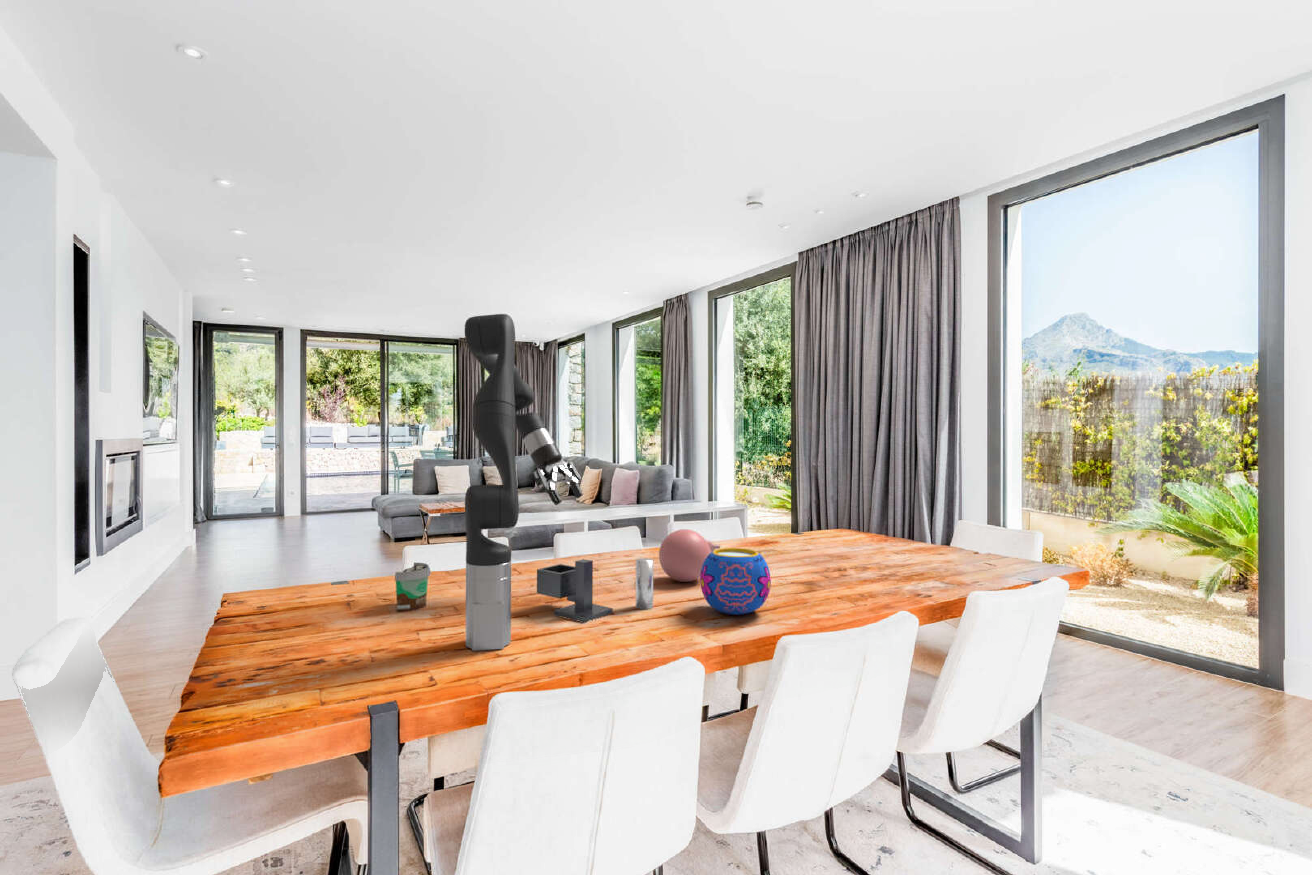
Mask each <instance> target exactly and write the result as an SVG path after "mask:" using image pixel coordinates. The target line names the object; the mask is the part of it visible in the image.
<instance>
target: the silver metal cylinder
mask: <svg viewBox="0 0 1312 875" xmlns="http://www.w3.org/2000/svg"><path fill="white" fill-rule="evenodd" d="M636 607H637V608H639V610H651V609H653V608H654V559H653V558H648V557H643V558H642V557H639V558H636V560H635V608H636ZM652 607H653V608H652ZM637 608H636V609H637ZM650 608H651V609H650Z"/></svg>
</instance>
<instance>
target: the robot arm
mask: <svg viewBox="0 0 1312 875" xmlns="http://www.w3.org/2000/svg"><path fill="white" fill-rule="evenodd" d="M464 338H465V344H466V346H467V348H468V350H469V352H470V353H471V355H472V356H473V357H474V358H475V360H476V361H477V362H478V363H479V364H480V365H481V366H482V367H483V369H484V370H485V371H486V372H487V373H488V374H489V375H488V376H487V378H486V379H485V381H484V382H483V384H481V386H480V388H479V389H478V391H477V393H476V394H475V397H474V399H473V401H472V430H473V433H474V436H475V438H476V439H477V441H478V442H479V443H480V445H481V446H482V447H483V450H485V451H486V453H487V454H488V456H489V457H490V459H491V460H492V461H493V463H494V465H495V468H496V469H497V471H498V474H499V476H500V479H501V483H502V484H476V485H475V484H473V485H470V486H468V488H467V489H466V492H465V496H464V515H465V533H466V534H465V536H466V538H465V540H466V541H465V542H466V546H465V548H466V549H465V646H466V647H467V648H469V649H471V651H473V652H474V651H477V652H478V651H489V650H490V651H491V650H503V649H504V647H506V646H508V645H509V644H511V642H512V549H511V547H510V546H508V545H506V544H505V543H500V542H497V541H495V540H492V539H490V538H488V537H486V536H485V535H484V534H483V533H482V530H498V529H500V530H501V529H503V530H504V529H512V528H515V527H516V526H517V523H518V520H519V515H520V507H519V506H520V504H519V503H520V502H519V492H518V491H519V489H518V480H517V477H518V476H517V467H516V466H517V465H516V430H517V432H518V433H519V435H520V437H521V439H522V440H523V443H524V446H525V449H526V450H527V453H528V455H529V457H530V458H531V460H532V462H533V463H534V464H533V465H534V466H535V467H536V470H535V471H533V473H531V475H532V477H533V479H534V481H535V484H536V486H537V488H538V490H539V492H540V493H541V494H543V493H546V494H548V496H549V498H550V499H551V501H552V503H553V505H555V506H558V505H559V504H561V503H562V499H561V497H560V495H559V493H558V491H557V489H555V487H556V483H560V482H562V483H564V484H567V485H568V486H569V487H570V488H571V491H572V493H573V495H574V497H575V498H576V499H580V498H581V497H582V496H583V494H584V493H583V491H582V489H581V487H580V485H579V481H581V480H582V477H581V475H580V472H578V469H577V468H576V467H575V465H574V463H573V462H572V460H570V461H568V462H567V463H564V462H563V461H562V458H563V456H562V454H561V452H560V450H559V448H558V446H557V444H556V442H555V440H554V439H553V437H552V435H551V433H550V432H549V431H548V429H547V428H546V426H545V424H544V422H543V421H542V419H541V417H540V415H539V413H537V412H534V411H532V412H528V413H518V412H519V411H522V410H524V409H526V408H528V407H531V406H532V405H533V403H534V402H535V400H536V394H535V391H534V390H533V388H532V386H530V385H529V384H528V383H527V382H526V381H525V380H524V379H522V377H521V374H520V372H519V369H518V367H517V366H516V364H515V357H516V356H515V354H516V328H515V322H514V321H513V319H512V317H511V315H509V314H506V313H497V314H487V315H485V314H483V315H475V316H472V317H468V318H467V319H466V321H465V323H464Z"/></svg>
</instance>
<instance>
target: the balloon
mask: <svg viewBox="0 0 1312 875" xmlns="http://www.w3.org/2000/svg"><path fill="white" fill-rule="evenodd" d="M659 547H660V548H659V551H658V560H659V563H660V566H661V569H662V571H663V572H664V574H666V575H667V576H668V577H669V578H671V579H672V580H674V581H677V582H680V583H681V582H683V583H689V582H693V581H696V580H698V579H700V574H701V569H702V565H703V563H704V561H705V559H706V558H707V556H708V555H709V554H710V553H711V552H713V551H714V550H717V549H721V545H720V544H718V543H717V544H716V543H713V541H711V540H707V539H705V537H703V536H702V535H701V534H700V533H699V532H697V531H694V530H692V529H677V530H675V531H673V532H671V533H669V534H668V535H667V536H666V537H665V538H664V540H663V541H662V543H661V545H660V546H659Z"/></svg>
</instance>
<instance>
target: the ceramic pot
mask: <svg viewBox="0 0 1312 875" xmlns="http://www.w3.org/2000/svg"><path fill="white" fill-rule="evenodd" d="M699 584H700V585H699V586H700V589H701V593H702V595H703V597H704V599H705V600H706V603H707V605H709V606H711V607H712V608H713V609H715V610H716V611H719V612H721V613H724V614H727V615H731V616H732V615H734V616H739V615H745V614H746V615H747V614H749V613H752V612H755V611H756V610H758V609H760V608H761V607H763V605H764V604H765V602H766V601H767V598H768V597H769V595H770V592H771V588H772V587H771V584H772V579H771V573H770V569H769V565H768V563H767V562H766V559H765V558H764V557H763V556H762V555H761V554H760V553H759V552H758V551H756V550H753V549H748V548H742V547H740V548H739V547H724V548H719V549H715V550H714V551H713V552H711V553H710V554H709V555H708V556H707V558H706V559H705V561H704V563H703V565H702V569H701V574H700V577H699Z"/></svg>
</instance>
